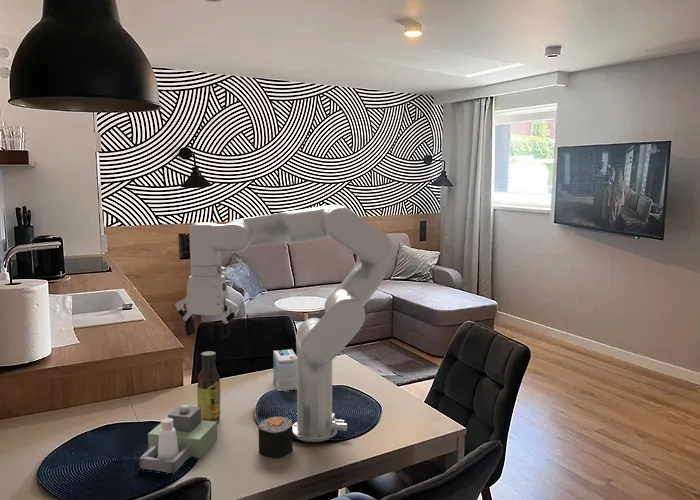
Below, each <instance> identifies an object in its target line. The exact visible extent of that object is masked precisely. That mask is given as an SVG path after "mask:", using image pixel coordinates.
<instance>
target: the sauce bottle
mask: <svg viewBox="0 0 700 500" xmlns="http://www.w3.org/2000/svg"><path fill="white" fill-rule="evenodd" d="M200 357H201V371H200V372H199V373H198V376H197V407H201V420H205V421H215V422H217V423H218V422H219V421H220V418H221V416H220V415H221V378H220V376H219V374H218V370H217V367H216V358H217V354H216V352H215V351H211V350H210V351H203V352H201V353H200Z"/></svg>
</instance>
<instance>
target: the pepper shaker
mask: <svg viewBox="0 0 700 500" xmlns="http://www.w3.org/2000/svg"><path fill="white" fill-rule="evenodd" d="M160 423H161V424H162V429H161V430H160V431H159V442H158V456H157V458H162V459H170V460H173V459H174V458H175V457H176V456H177V455H178V454H179V449H178V443H177V436H176V430H175V428H174V427H173V419H172V418H167V417H165V418H163V419H161V421H160Z"/></svg>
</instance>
